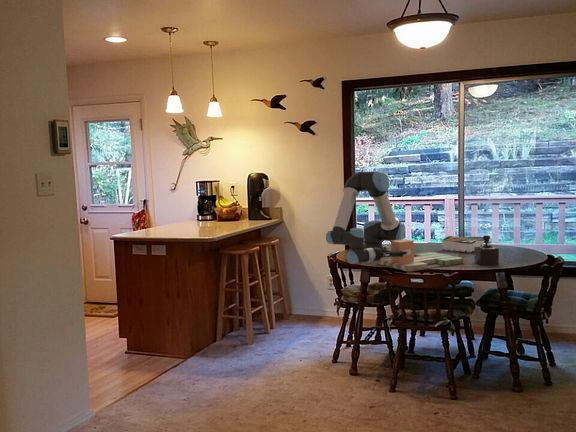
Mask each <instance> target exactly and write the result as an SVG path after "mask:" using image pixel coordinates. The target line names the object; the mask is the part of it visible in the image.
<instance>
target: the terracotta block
mask: <svg viewBox="0 0 576 432" xmlns="http://www.w3.org/2000/svg"><path fill="white" fill-rule="evenodd" d="M390 247H391V251H402V250H409V249H410V250H411V254H409V255H403V256H402V257H401V256H399V257H390V258H391V261H392V262H397V263H405V262H412V261H414V254H415V253H414V252H415V250H414V249H415V248H414V247H415V244H414V240H412V239H405V238H403V239H402V240H394V241H390Z"/></svg>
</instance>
